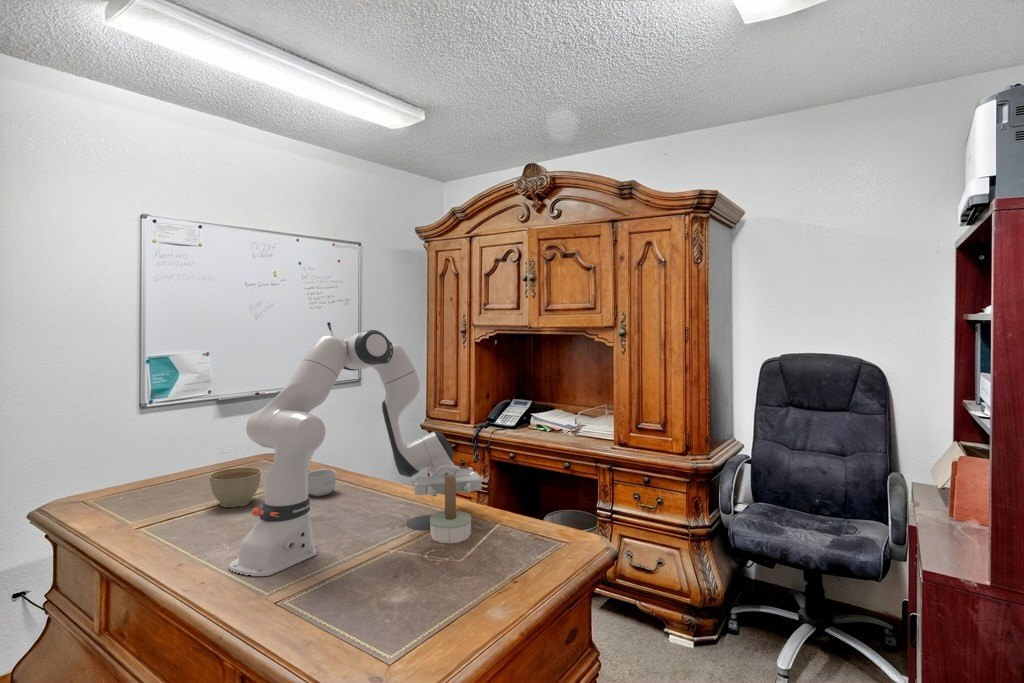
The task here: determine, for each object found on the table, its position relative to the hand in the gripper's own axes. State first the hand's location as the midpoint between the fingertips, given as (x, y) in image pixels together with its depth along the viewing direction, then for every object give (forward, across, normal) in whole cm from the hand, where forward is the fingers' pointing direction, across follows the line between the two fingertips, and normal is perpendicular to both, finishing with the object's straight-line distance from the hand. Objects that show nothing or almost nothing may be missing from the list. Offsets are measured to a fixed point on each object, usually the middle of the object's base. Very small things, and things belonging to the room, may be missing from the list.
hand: (450, 492), depth 157 cm
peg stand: (0, 0, +8) cm, 8 cm away
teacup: (-55, -42, +14) cm, 70 cm away
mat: (-12, -6, +13) cm, 19 cm away
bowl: (0, 0, +13) cm, 13 cm away
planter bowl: (-49, -69, +14) cm, 86 cm away
